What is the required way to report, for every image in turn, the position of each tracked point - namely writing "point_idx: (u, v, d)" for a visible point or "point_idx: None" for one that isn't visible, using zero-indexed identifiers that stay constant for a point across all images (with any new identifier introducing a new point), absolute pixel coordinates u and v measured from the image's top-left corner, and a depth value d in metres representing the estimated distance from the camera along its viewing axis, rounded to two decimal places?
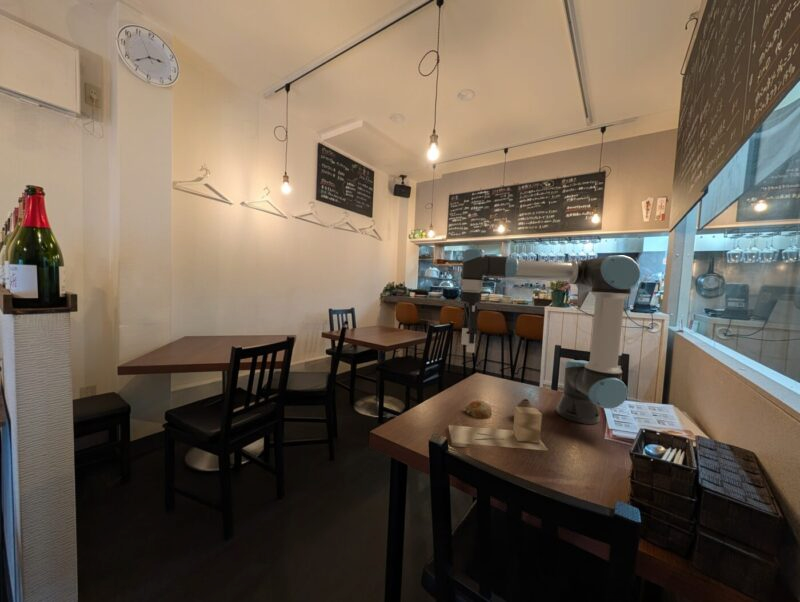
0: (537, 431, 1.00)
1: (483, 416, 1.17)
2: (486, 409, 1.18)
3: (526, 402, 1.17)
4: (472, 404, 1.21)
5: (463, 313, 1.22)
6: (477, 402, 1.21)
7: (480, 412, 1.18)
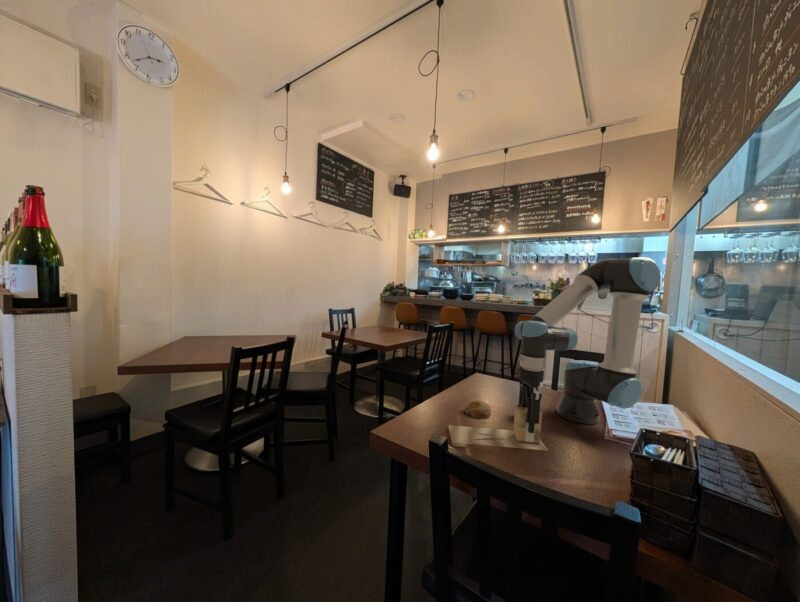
0: (537, 431, 1.00)
1: (482, 416, 1.17)
2: (485, 409, 1.18)
3: None
4: (471, 404, 1.21)
5: (519, 393, 1.08)
6: (476, 402, 1.21)
7: (479, 412, 1.18)
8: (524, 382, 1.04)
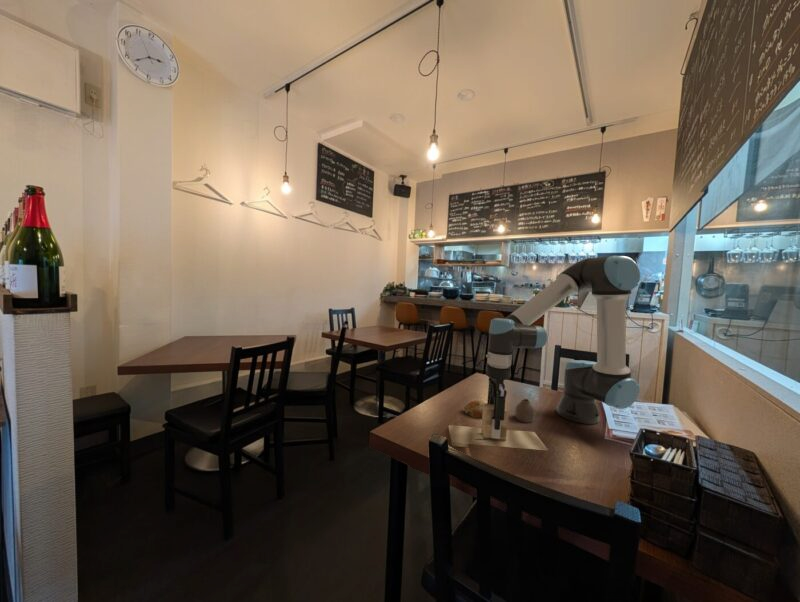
0: (503, 427, 1.01)
1: None
2: None
3: (526, 402, 1.17)
4: (471, 404, 1.21)
5: (488, 390, 1.08)
6: (476, 402, 1.21)
7: (478, 412, 1.18)
8: (492, 379, 1.05)
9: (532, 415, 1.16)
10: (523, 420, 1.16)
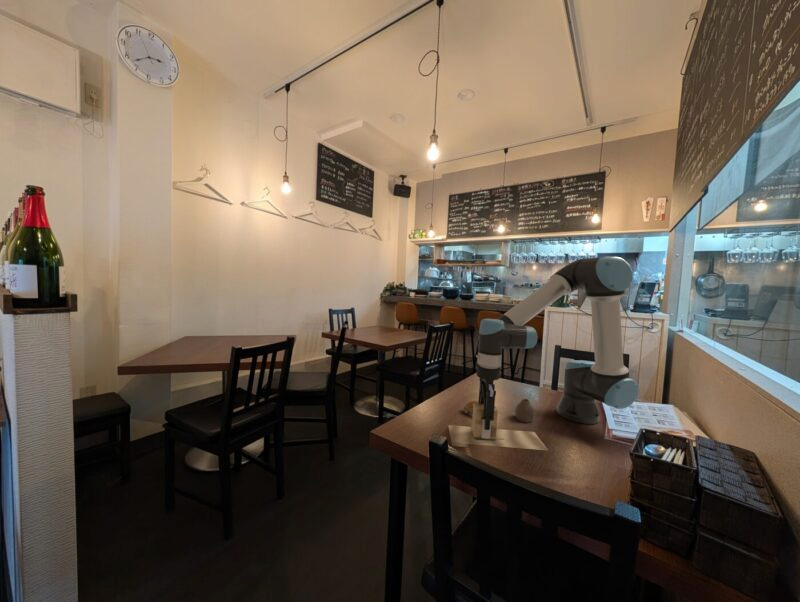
0: (493, 427, 1.01)
1: None
2: None
3: (526, 402, 1.17)
4: (470, 404, 1.21)
5: (479, 390, 1.08)
6: (475, 402, 1.21)
7: None
8: (482, 379, 1.05)
9: (532, 415, 1.16)
10: (523, 420, 1.16)
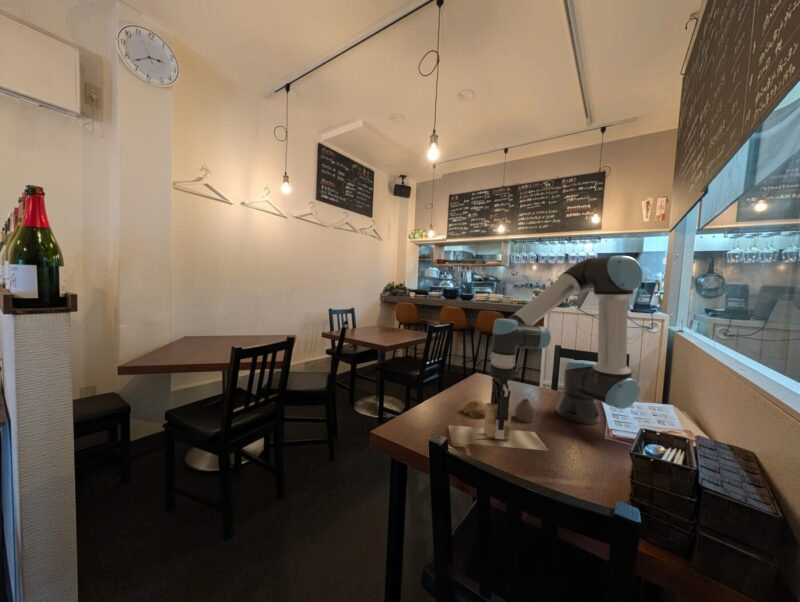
0: (506, 427, 1.00)
1: (480, 416, 1.17)
2: (483, 409, 1.18)
3: (526, 402, 1.17)
4: (469, 404, 1.21)
5: (492, 390, 1.08)
6: (474, 402, 1.21)
7: (477, 411, 1.18)
8: (495, 379, 1.05)
9: (532, 415, 1.16)
10: (523, 420, 1.16)
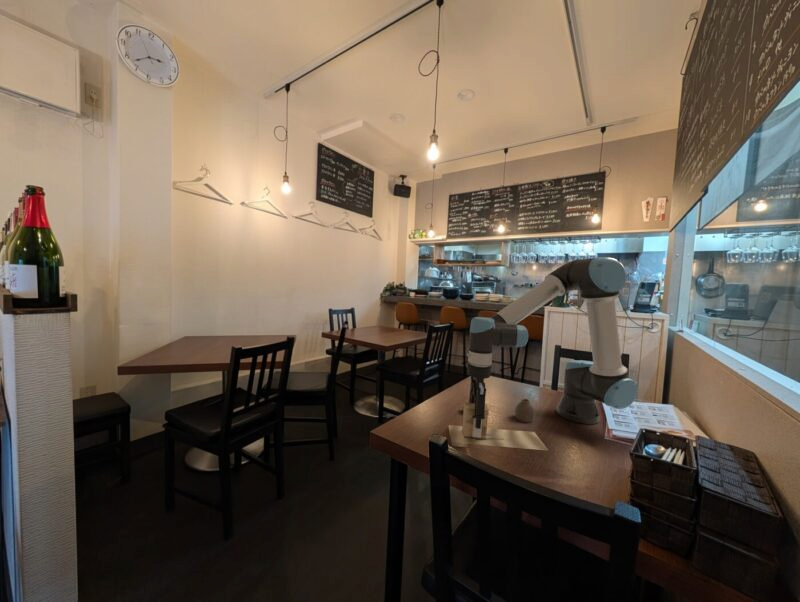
0: (483, 426, 1.01)
1: None
2: None
3: (526, 402, 1.17)
4: None
5: (470, 388, 1.09)
6: None
7: None
8: (473, 378, 1.05)
9: (532, 415, 1.16)
10: (523, 420, 1.16)
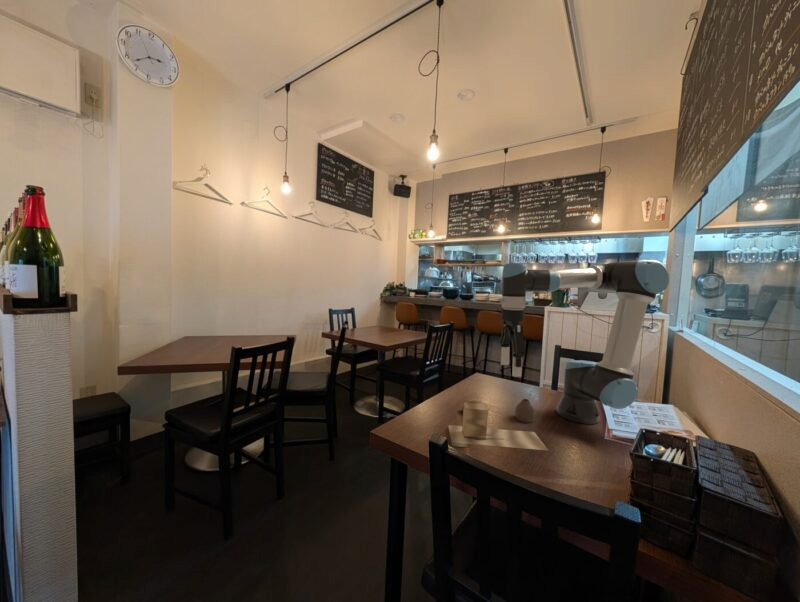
0: (483, 426, 1.01)
1: None
2: None
3: (526, 402, 1.17)
4: None
5: (502, 331, 1.13)
6: (473, 402, 1.21)
7: None
8: (507, 325, 1.08)
9: (532, 415, 1.16)
10: (523, 420, 1.16)
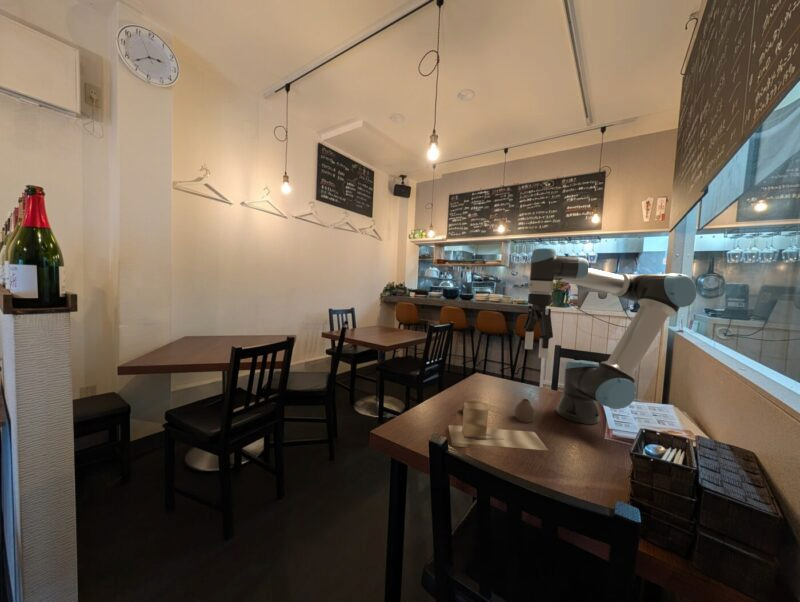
0: (483, 426, 1.01)
1: None
2: None
3: (526, 402, 1.17)
4: None
5: (527, 316, 1.16)
6: (473, 402, 1.21)
7: None
8: None
9: (532, 415, 1.16)
10: (523, 420, 1.16)
